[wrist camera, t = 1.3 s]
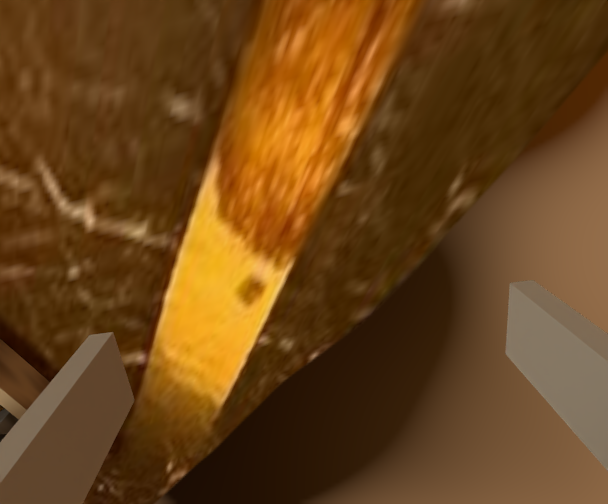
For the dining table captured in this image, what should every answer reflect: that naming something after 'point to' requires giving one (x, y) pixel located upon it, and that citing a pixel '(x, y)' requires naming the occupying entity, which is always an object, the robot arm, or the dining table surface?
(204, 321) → the dining table surface
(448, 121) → the dining table surface
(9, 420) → the rectangular frame
